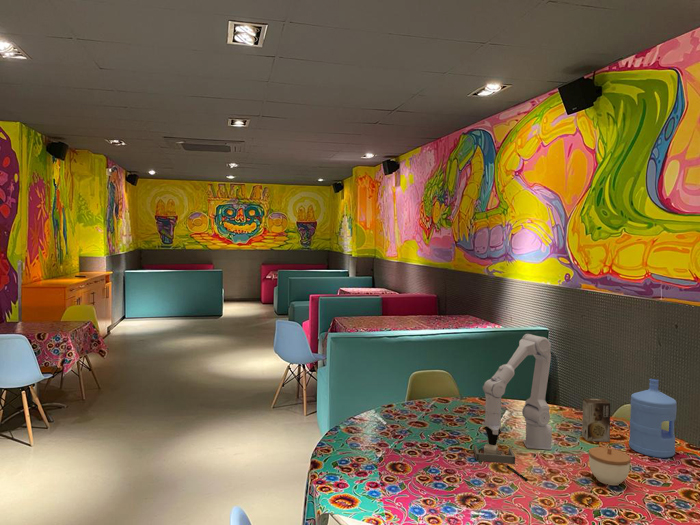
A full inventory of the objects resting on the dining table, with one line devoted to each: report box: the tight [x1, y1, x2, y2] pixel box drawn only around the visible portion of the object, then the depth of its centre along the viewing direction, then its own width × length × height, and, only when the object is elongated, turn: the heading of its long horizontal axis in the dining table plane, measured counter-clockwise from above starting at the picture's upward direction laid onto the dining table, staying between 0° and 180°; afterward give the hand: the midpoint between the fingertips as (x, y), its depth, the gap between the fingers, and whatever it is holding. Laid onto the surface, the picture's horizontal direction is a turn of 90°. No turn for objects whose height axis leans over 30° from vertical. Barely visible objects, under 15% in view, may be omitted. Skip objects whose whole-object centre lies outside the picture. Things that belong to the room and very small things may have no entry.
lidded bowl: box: [588, 446, 632, 486], centre depth 172 cm, size 13×13×11 cm
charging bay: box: [473, 444, 516, 465], centre depth 189 cm, size 14×9×2 cm, turn 82°
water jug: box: [628, 378, 678, 459], centre depth 199 cm, size 16×16×28 cm
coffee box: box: [581, 397, 611, 443], centre depth 211 cm, size 9×6×16 cm
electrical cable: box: [505, 464, 529, 482], centre depth 176 cm, size 12×1×1 cm, turn 16°
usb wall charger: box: [483, 443, 505, 455], centre depth 190 cm, size 4×7×4 cm, turn 64°
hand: (492, 446), depth 195 cm, fingers closed
